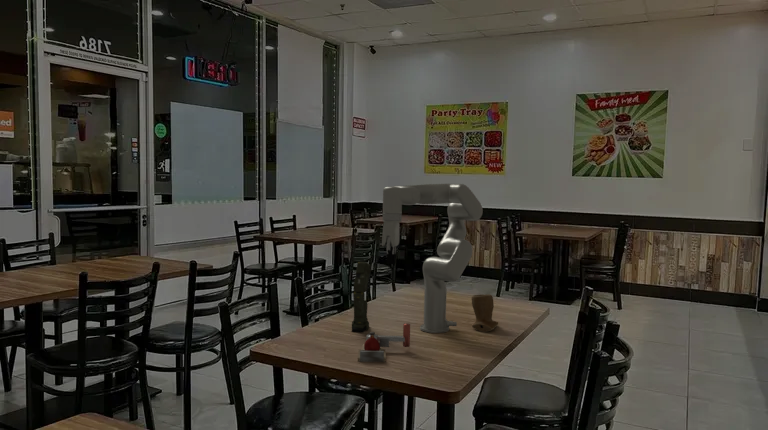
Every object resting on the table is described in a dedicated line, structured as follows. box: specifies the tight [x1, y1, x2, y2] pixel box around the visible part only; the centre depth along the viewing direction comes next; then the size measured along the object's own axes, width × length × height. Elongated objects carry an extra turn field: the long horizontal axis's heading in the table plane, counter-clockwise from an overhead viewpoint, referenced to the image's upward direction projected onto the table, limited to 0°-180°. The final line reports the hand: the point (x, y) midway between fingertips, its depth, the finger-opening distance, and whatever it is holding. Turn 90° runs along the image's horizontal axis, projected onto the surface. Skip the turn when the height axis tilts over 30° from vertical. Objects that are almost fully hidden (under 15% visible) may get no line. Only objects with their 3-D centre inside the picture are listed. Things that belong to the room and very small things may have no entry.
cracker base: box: [357, 331, 387, 363], centre depth 211 cm, size 10×17×7 cm, turn 1°
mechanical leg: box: [351, 261, 372, 334], centre depth 246 cm, size 14×7×30 cm, turn 169°
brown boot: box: [471, 293, 499, 332], centre depth 251 cm, size 15×12×15 cm
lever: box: [365, 322, 411, 348], centre depth 215 cm, size 16×4×8 cm, turn 90°
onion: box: [363, 335, 380, 351], centre depth 208 cm, size 6×6×8 cm
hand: (391, 263), depth 227 cm, fingers closed
